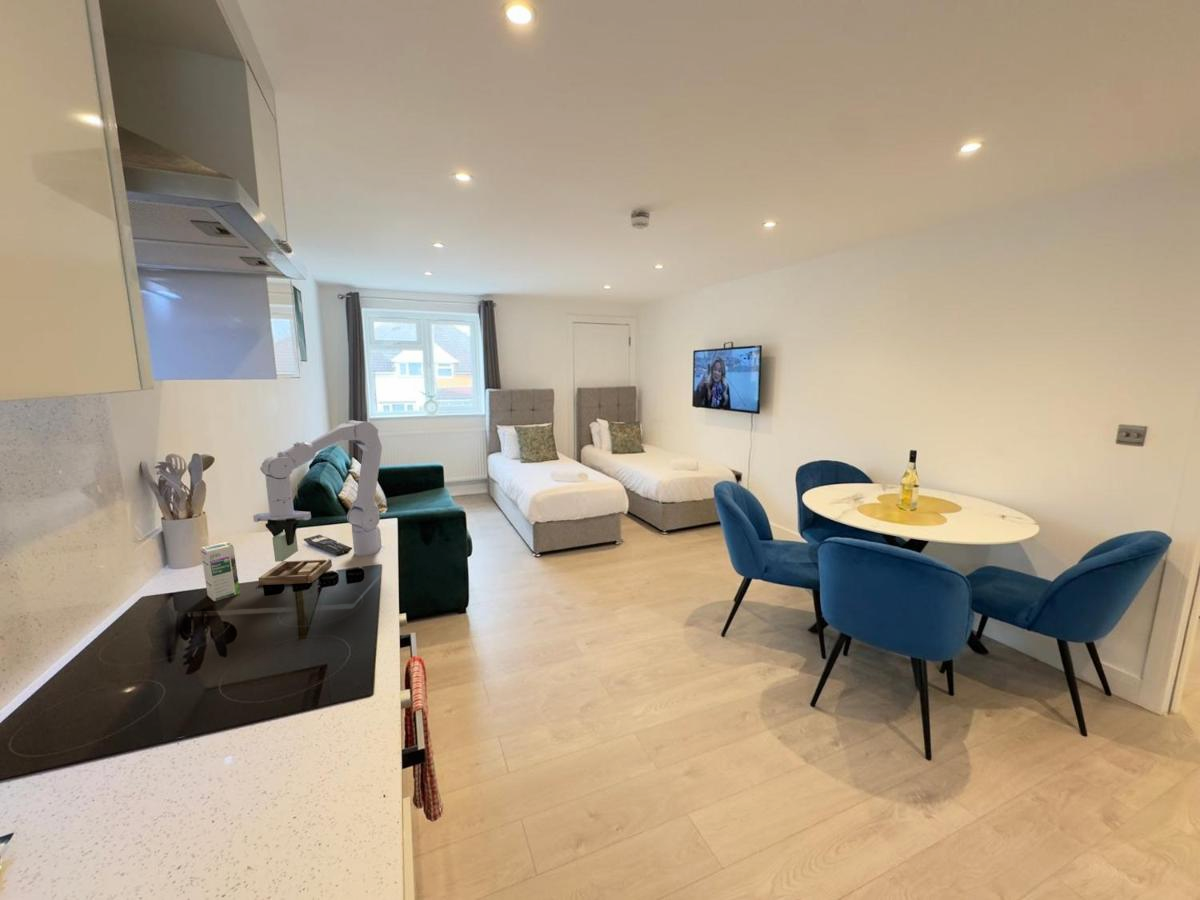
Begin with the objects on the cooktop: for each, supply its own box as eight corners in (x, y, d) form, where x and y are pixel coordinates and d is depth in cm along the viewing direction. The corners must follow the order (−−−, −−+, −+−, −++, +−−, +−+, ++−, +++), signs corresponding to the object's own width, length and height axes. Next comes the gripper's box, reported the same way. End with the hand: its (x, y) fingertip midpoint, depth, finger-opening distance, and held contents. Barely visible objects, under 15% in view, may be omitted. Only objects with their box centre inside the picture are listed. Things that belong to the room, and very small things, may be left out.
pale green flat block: (290, 551, 141) (288, 528, 139) (298, 550, 141) (295, 528, 140) (275, 561, 133) (272, 537, 132) (282, 561, 133) (279, 537, 132)
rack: (283, 570, 143) (282, 561, 143) (332, 568, 145) (331, 559, 144) (259, 588, 132) (258, 578, 131) (312, 585, 133) (311, 575, 132)
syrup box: (214, 605, 122) (206, 551, 120) (207, 598, 126) (199, 546, 123) (240, 596, 127) (233, 545, 124) (233, 590, 130) (226, 540, 128)
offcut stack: (310, 569, 142) (309, 562, 141) (322, 569, 142) (322, 561, 142) (297, 579, 134) (296, 571, 134) (310, 579, 135) (309, 571, 134)
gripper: (244, 503, 130) (250, 550, 132) (299, 501, 131) (304, 548, 133) (259, 496, 137) (265, 541, 139) (312, 495, 138) (317, 539, 140)
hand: (285, 544), depth 136 cm, fingers closed on pale green flat block, 2 cm apart
